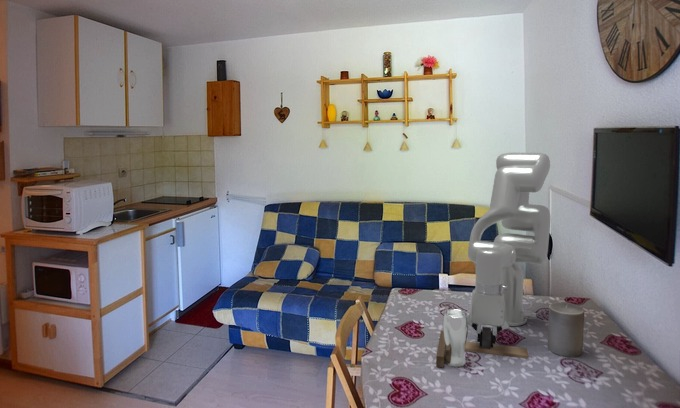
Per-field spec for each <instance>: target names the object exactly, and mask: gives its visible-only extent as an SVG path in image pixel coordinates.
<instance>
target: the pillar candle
mask: <svg viewBox="0 0 680 408" xmlns="http://www.w3.org/2000/svg"><path fill="white" fill-rule="evenodd" d="M547 323H548V325H547V326H548V327H547V329H548V330H547V350H549V352H552V353H554V354H556V355H558V356H560V357H565V358H578V357H580V356H582V354H583V347H584V329H585V327H584V326H585V309H584V308H583V307H582V306H579V305H577V304H574V303H569V302H563V301H561V302H558V301H557V302H552V303H550V304H549V305H548V322H547Z"/></svg>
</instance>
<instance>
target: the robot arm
mask: <svg viewBox="0 0 680 408" xmlns="http://www.w3.org/2000/svg"><path fill="white" fill-rule="evenodd" d="M495 161H496V163H495V164H496V165H495V166H496V172H495V174H494V179H493V185H492V191H491V197H490V205H489V209H488V210H487V211H486V212H485V213H484V214H483V215H481V217H479V219H478V220H477V221H476V222H475V224H474V225H473V227H472V229H471V231H470V232H471V233H470V237H469V242H468V247H467V248H468V249H467V256H468V259H469V260H470V261H471V262H472V263H474V264H475V285H474V286H475V288H474V289H472V292H471V296H470V308H469V314H468V326H470V327H472V328H473V329H474V331H475V332H476V333H477V338H476V339H477V341H476V342H477V343H480V346H482V325H483V326H484V325H485V326H491V327H492V328H491V347H492V348H493V344H495V345H496V342H497V341H496V340H497V339H496V337H497V335H498V334H499V333H500V332H501V331H503V330H507V329H509V328H510V327H520V326H522V325H525V324H526V323H527V318H530V319H537V312H533V311H532V310H526V309H524V306H523V301H524V299H523V298H524V297H523V296H524V277H525V275H524V270H523V268H522V266H521V265H520V264H519V263H527V264H532V265H533V264H534V265H541V264H544V263H545V262H546V260H547V258H548V253H549V240H550V231H551V230H550V229H551V213H550V209H549V208H548V207H547V206H545V205H541V204H533V203H532V204H531V203H529V201H530V193H538V192H539V191H541V190H542V188H543V185H544V184H545V181H546V178H547V176H548V175H549V172H550V168H551V159H550V157H549V156H548V155H547V154H546V153H542V152H506V153H501V154H499V155H498V156H497V158H496V160H495ZM497 223H501V225H502V227H503V228H505V229H508V230H512V231H520V232H530V233H533V235H527V234H519V233H510V232H507V233H505V232H504V233H500V234H498V235H496V237H495V238H494V240H493V241H487V240H482V236H483V233H484V231H485V230H487V229H488V228H489V227H491V226H492V225H495V224H497Z"/></svg>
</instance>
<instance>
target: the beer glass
mask: <svg viewBox="0 0 680 408" xmlns="http://www.w3.org/2000/svg"><path fill="white" fill-rule="evenodd" d="M468 315H469V314H468V312H466V311H464V310H462V309H459V308H458V309H457V308H456V309H455V308H452V309H451V308H450V309H447V310H444V316H443V331H444V338H445V344H446V351H445V358H444V364H446V365H448V366H450V367H454V368H456V367H457V368H461V367H463V366H465V365H466V362H467V361H466V356H465V352H466V351H465V345H466V341H468V340H467V339H468V334H469V325H468Z"/></svg>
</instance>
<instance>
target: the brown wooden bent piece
mask: <svg viewBox="0 0 680 408" xmlns="http://www.w3.org/2000/svg"><path fill="white" fill-rule="evenodd" d="M481 329H482V346H480V342H477V341H476V342H475V341H468V340H466V345H465V351H464V352H473V353H474V352H475V353H479V354H481V353H482V354H489V355H498V356H507V357H514V358H520V359H521V358H523V359H529V358H530V355H529V353H528V348H527V347H520V346H519V347H518V346H510V345H502V344H501V345H500V344H496V343H495V344H493V348H492V347H491V331H492V328H491V327H489V326H488V327H487V326H481ZM445 354H446V344H445V338H444V330H440V333H439V338H438V344H437V351H436V359H435V362H436V363H435V366H436V367H440V368H444V365H445V361H444V358H445Z"/></svg>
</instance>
